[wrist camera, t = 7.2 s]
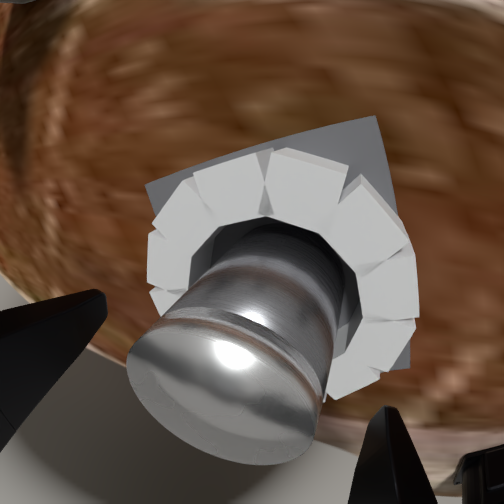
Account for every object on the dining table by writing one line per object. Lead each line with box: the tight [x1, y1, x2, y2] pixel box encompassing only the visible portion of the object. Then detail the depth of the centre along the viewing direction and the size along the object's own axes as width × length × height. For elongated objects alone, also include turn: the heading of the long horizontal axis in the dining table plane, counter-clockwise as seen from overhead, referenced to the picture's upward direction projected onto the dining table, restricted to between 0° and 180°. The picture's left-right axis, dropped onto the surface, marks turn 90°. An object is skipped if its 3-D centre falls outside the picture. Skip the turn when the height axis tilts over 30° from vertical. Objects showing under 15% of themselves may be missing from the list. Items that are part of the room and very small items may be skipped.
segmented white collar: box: [145, 116, 419, 402], centre depth 13 cm, size 11×10×6 cm
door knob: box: [127, 223, 345, 465], centre depth 10 cm, size 5×5×7 cm
